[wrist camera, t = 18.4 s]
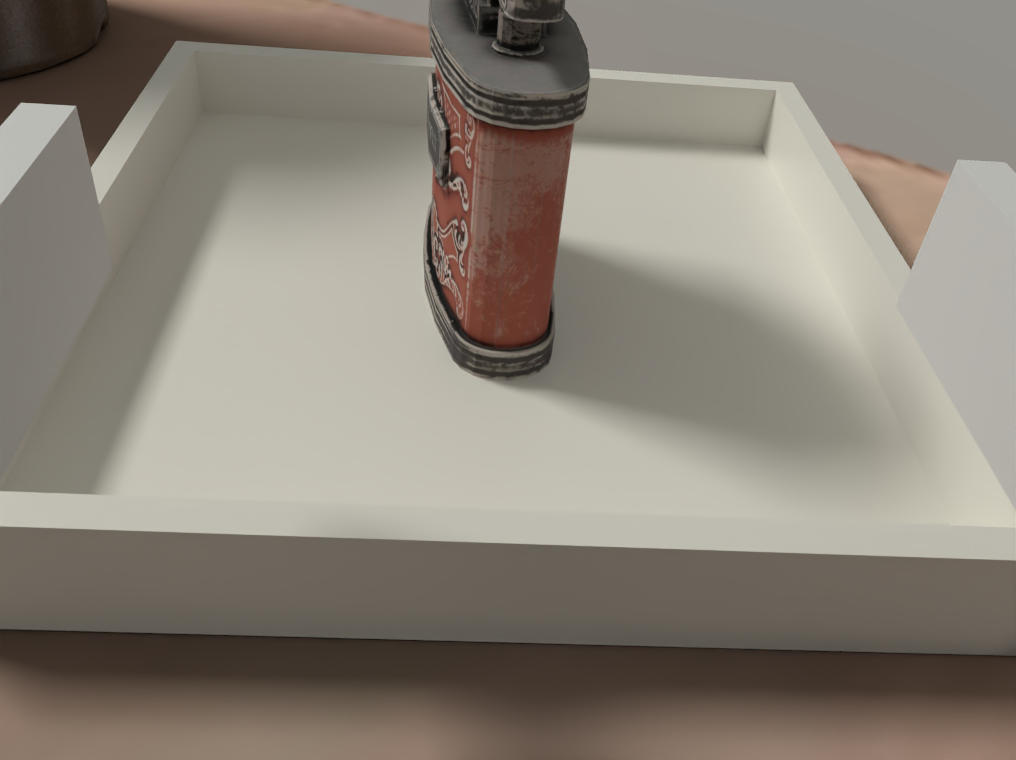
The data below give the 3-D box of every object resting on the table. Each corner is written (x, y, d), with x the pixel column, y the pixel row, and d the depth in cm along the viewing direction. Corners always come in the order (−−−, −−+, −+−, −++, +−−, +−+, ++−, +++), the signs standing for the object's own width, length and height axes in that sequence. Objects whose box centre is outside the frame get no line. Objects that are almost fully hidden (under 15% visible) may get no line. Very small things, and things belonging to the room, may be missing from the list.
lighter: (411, 215, 29) (417, -145, 23) (518, 214, 30) (553, -139, 23) (441, 384, 23) (459, -43, 17) (574, 377, 24) (641, -37, 17)
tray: (-88, 626, 18) (-148, 521, 16) (188, 121, 35) (176, 40, 33) (1025, 656, 19) (1095, 562, 17) (771, 158, 36) (792, 82, 34)
